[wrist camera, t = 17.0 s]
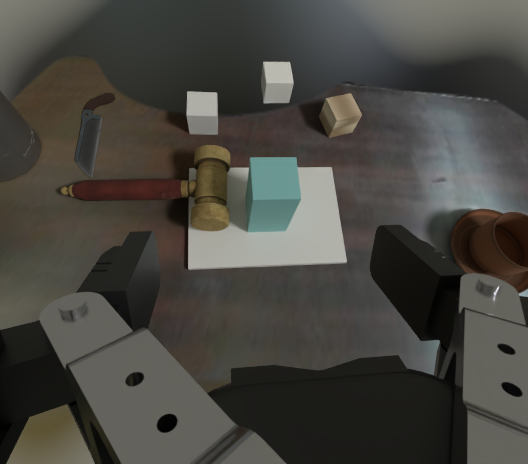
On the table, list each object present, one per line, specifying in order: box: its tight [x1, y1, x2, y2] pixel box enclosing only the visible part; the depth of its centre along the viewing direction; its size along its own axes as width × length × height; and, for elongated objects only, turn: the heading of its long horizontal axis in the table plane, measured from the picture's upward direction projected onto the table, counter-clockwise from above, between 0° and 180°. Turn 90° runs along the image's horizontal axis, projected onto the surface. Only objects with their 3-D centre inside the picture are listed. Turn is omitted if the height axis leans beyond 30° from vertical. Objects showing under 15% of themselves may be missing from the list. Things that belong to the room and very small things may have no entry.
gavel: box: [61, 145, 230, 231], centre depth 41 cm, size 21×5×10 cm
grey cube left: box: [187, 92, 218, 135], centre depth 46 cm, size 4×4×4 cm
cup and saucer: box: [451, 209, 528, 293], centre depth 43 cm, size 12×12×6 cm
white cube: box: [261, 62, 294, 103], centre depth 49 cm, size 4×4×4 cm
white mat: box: [188, 167, 347, 270], centre depth 43 cm, size 20×14×1 cm
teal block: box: [246, 157, 301, 232], centre depth 39 cm, size 5×5×10 cm
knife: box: [75, 93, 115, 178], centre depth 45 cm, size 14×4×1 cm, turn 2°
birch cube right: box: [319, 93, 362, 138], centre depth 49 cm, size 4×4×4 cm
